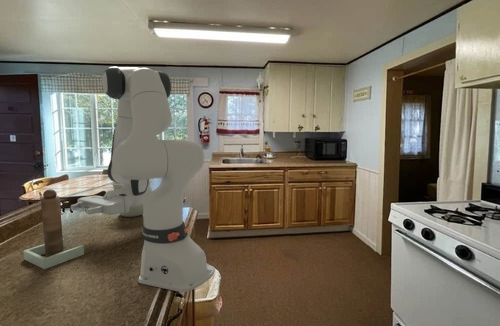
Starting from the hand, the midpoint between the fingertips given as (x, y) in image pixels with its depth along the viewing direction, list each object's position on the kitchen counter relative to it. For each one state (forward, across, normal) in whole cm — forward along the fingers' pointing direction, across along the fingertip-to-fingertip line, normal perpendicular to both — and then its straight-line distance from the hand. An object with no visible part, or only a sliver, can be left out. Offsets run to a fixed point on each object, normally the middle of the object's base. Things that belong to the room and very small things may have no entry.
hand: (79, 209), depth 100 cm
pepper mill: (+9, 0, +14) cm, 16 cm away
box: (+9, 0, +14) cm, 16 cm away
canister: (-36, -18, +14) cm, 42 cm away
